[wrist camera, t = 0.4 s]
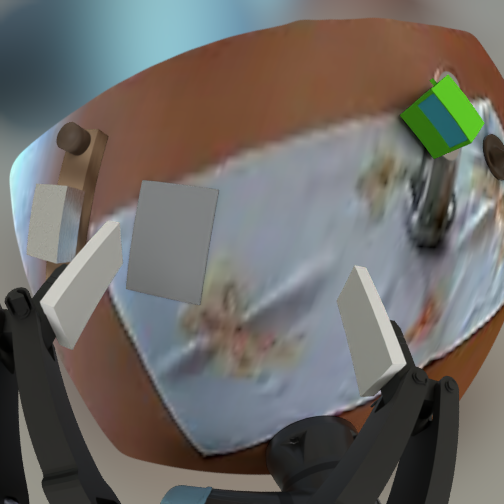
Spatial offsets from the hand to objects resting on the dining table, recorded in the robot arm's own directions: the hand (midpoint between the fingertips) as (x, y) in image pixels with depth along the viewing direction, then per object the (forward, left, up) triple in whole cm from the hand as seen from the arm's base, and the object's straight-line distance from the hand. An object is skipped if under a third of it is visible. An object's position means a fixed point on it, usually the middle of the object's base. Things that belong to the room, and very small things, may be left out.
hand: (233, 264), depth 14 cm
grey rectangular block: (0, +24, -15) cm, 28 cm away
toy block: (+26, -26, -18) cm, 41 cm away
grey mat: (0, +9, -18) cm, 20 cm away
